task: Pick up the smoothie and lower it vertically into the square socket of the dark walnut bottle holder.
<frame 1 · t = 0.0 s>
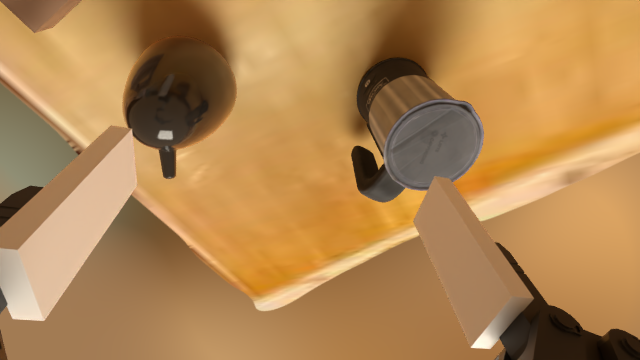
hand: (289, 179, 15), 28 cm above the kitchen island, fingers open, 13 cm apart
pump dispenser: (197, 76, 40), on the kitchen island
milk frother: (409, 115, 44), on the kitchen island
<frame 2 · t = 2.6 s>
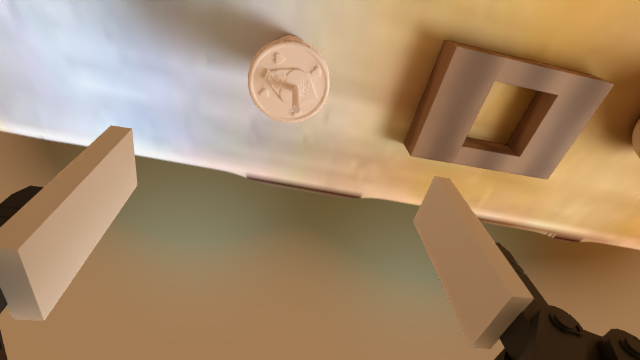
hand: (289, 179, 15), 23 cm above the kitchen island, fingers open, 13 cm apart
smoothie: (290, 54, 34), on the kitchen island
bottle holder: (494, 111, 39), on the kitchen island
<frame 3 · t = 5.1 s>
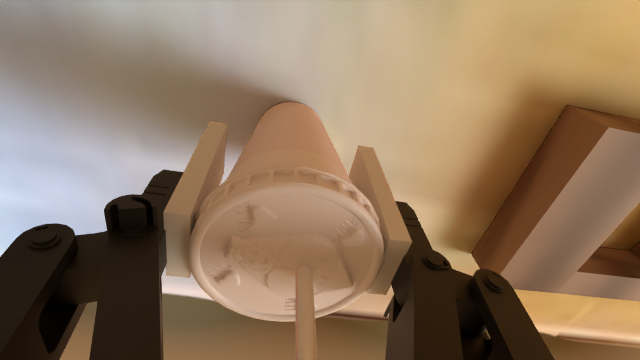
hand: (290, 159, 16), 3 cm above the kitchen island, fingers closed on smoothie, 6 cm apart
smoothie: (290, 132, 19), on the kitchen island, touching gripper
bottle holder: (624, 207, 24), on the kitchen island
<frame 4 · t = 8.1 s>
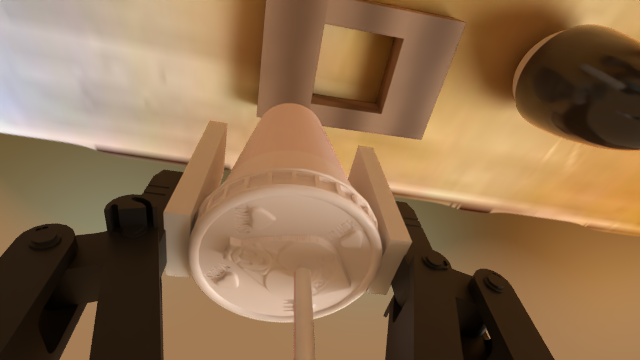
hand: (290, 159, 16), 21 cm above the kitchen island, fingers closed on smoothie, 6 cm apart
smoothie: (289, 132, 19), point 18 cm above the kitchen island, touching gripper
pump dispenser: (543, 69, 37), on the kitchen island
bottle holder: (350, 64, 35), on the kitchen island
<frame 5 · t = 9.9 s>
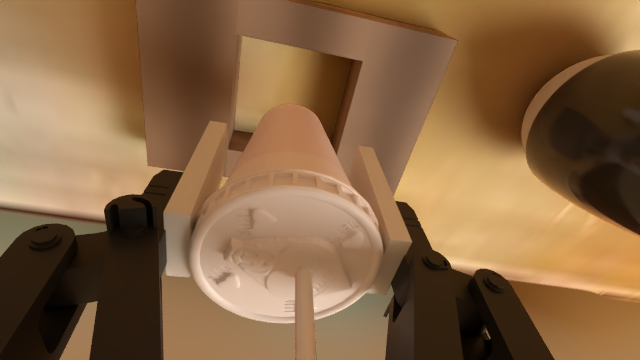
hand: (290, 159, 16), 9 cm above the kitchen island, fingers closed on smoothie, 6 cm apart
smoothie: (290, 133, 19), point 6 cm above the kitchen island, touching gripper
pump dispenser: (564, 107, 26), on the kitchen island
bottle holder: (291, 92, 24), on the kitchen island
when the fingers open (5 cm above the kitchen island, at t = 11.2 s): smoothie drops 2 cm, resting in bottle holder.
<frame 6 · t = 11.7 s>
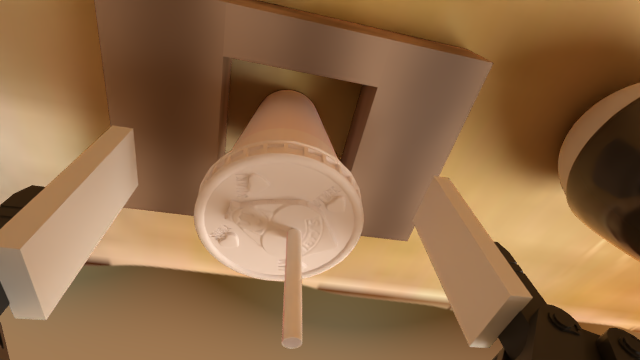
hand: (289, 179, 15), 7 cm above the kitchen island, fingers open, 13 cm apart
smoothie: (287, 117, 21), resting in bottle holder
pump dispenser: (606, 133, 23), on the kitchen island
bottle holder: (290, 119, 20), on the kitchen island
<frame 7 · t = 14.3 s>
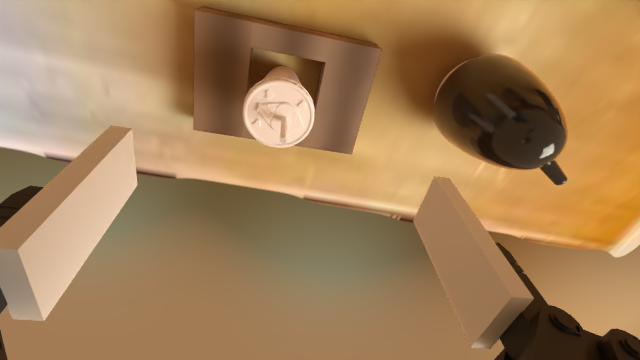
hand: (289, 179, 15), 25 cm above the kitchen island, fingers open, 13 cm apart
smoothie: (282, 82, 38), resting in bottle holder
pump dispenser: (465, 92, 40), on the kitchen island
bottle holder: (284, 83, 38), on the kitchen island
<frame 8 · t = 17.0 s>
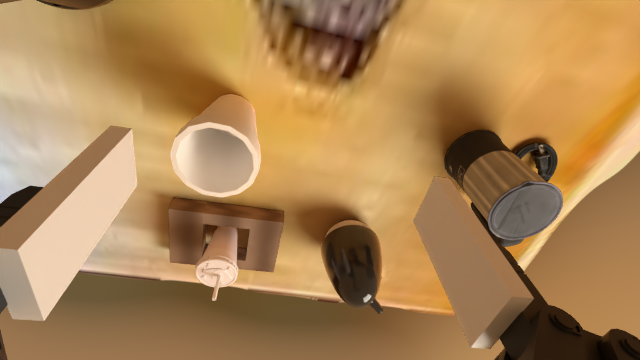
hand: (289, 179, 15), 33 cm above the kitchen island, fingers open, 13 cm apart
smoothie: (227, 230, 59), resting in bottle holder
foam cup: (233, 115, 48), on the kitchen island
pump dispenser: (347, 232, 61), on the kitchen island
bottle holder: (228, 231, 59), on the kitchen island
milk frother: (495, 155, 54), on the kitchen island
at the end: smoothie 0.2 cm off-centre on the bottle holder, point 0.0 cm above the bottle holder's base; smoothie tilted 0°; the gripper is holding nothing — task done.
